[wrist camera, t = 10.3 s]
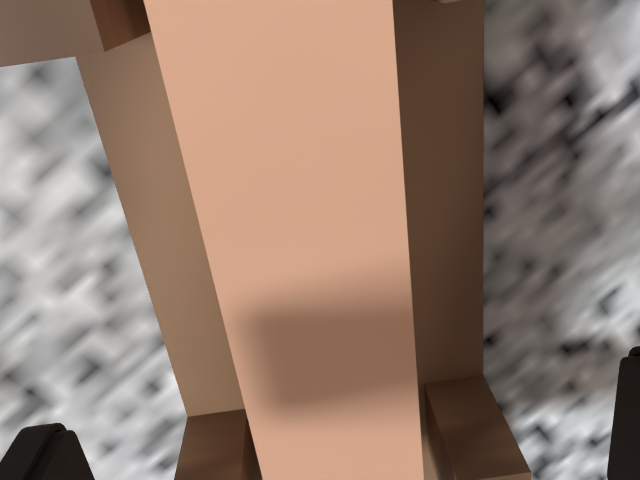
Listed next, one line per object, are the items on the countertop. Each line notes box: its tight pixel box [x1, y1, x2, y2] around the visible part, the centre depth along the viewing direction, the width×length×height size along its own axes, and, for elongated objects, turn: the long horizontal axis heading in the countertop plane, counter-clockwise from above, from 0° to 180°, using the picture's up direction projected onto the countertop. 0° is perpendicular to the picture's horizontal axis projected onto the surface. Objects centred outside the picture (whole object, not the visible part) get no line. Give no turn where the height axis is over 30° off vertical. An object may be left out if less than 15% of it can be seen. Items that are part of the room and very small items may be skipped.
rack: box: [0, 0, 531, 480], centre depth 15 cm, size 10×22×6 cm, turn 7°
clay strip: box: [144, 0, 424, 480], centre depth 14 cm, size 4×16×4 cm, turn 7°
